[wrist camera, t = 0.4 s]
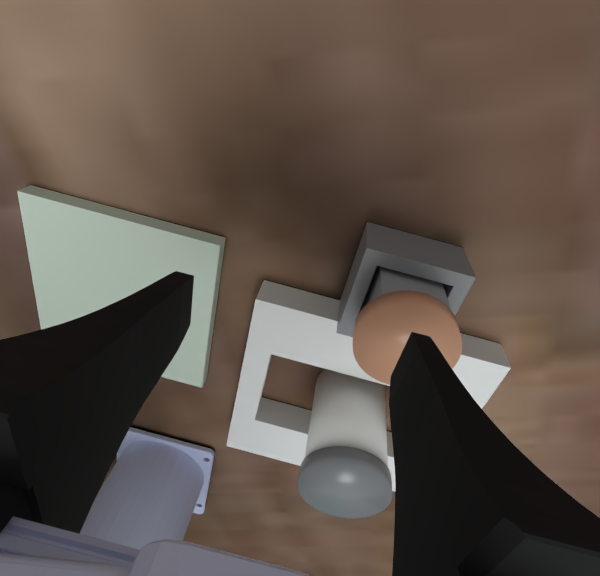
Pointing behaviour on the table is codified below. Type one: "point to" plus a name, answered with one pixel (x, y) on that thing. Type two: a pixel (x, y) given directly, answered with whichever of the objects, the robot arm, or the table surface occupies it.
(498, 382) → the housing
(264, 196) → the table surface
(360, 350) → the plunger
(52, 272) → the mat
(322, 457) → the cylinder
